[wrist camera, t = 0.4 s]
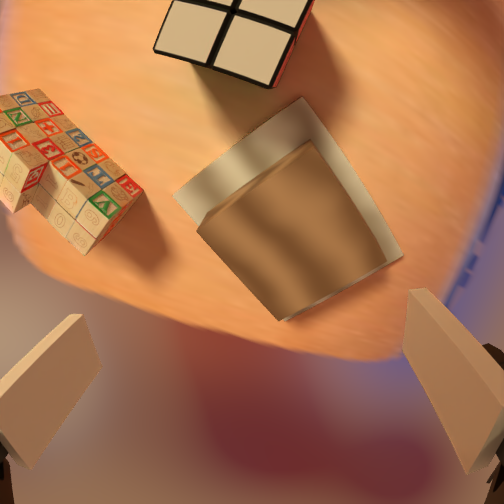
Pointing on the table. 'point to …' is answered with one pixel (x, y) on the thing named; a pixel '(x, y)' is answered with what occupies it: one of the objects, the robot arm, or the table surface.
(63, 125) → the stack of blocks
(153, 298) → the table surface
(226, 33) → the puzzle cube
